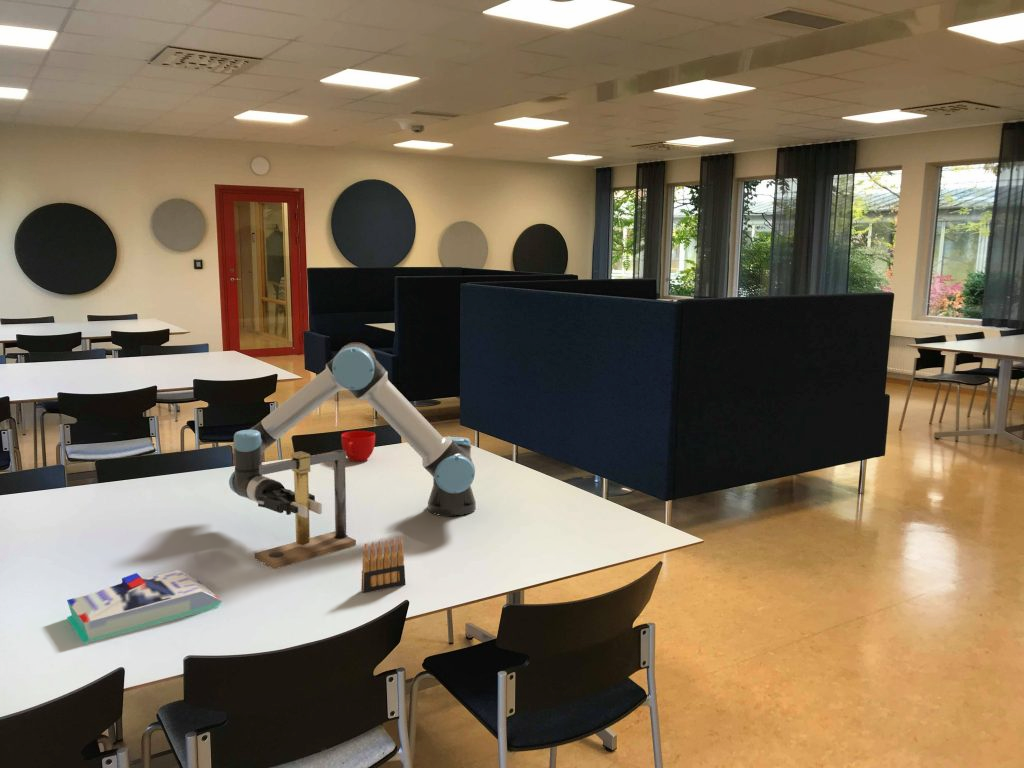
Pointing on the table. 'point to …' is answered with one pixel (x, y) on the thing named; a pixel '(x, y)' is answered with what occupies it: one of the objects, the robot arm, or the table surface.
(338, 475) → the steel frame
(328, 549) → the walnut board
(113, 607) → the toy car
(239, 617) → the table surface
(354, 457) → the ceramic cup
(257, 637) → the table surface
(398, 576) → the ammunition clip
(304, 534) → the brass leg
